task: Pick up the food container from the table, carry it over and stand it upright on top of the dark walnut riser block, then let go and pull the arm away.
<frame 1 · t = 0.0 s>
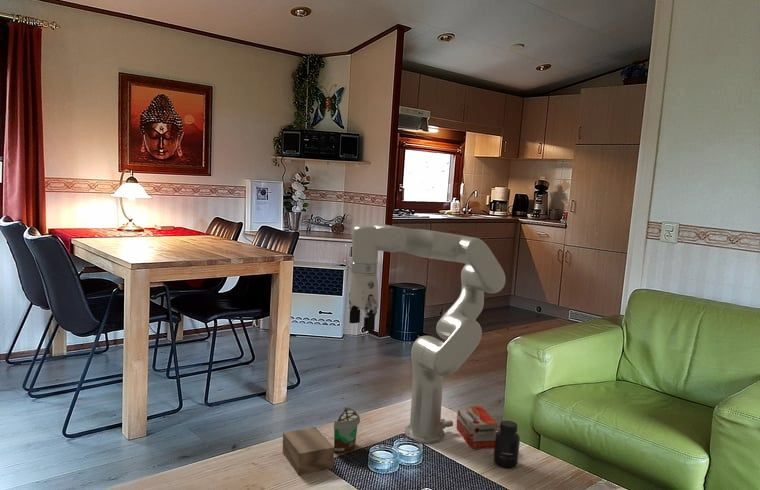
hand: (361, 326, 166), 37 cm above the table, tool pointing down, fingers open, 9 cm apart
medicine box: (475, 439, 180), on the table
walnut riser: (307, 460, 161), on the table
supplement bottle: (505, 464, 164), on the table
food container: (348, 448, 170), on the table
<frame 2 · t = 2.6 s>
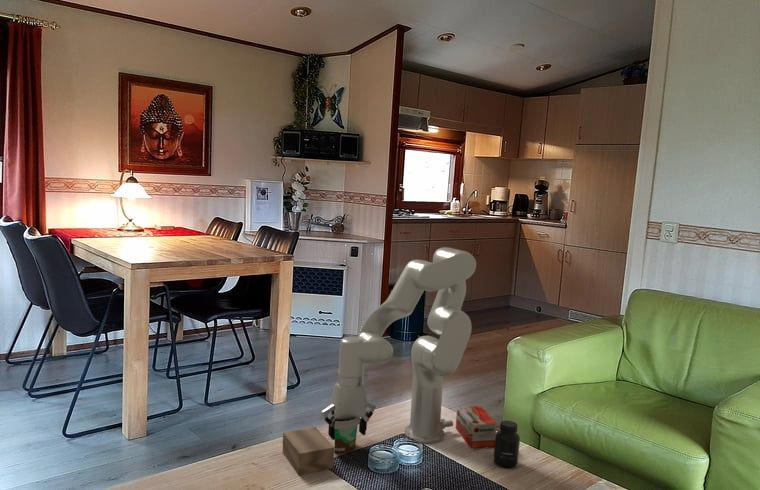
hand: (347, 435, 169), 4 cm above the table, tool pointing down, fingers open, 9 cm apart
food container: (348, 447, 170), on the table, touching gripper
everything else where it was.
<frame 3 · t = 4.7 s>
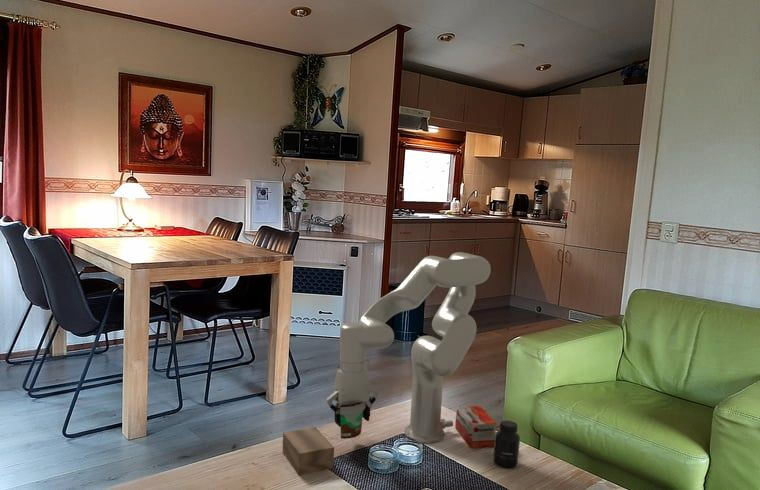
hand: (352, 421, 169), 8 cm above the table, tool pointing down, fingers closed on food container, 8 cm apart
food container: (354, 433, 170), point 4 cm above the table, touching gripper
everything else where it was.
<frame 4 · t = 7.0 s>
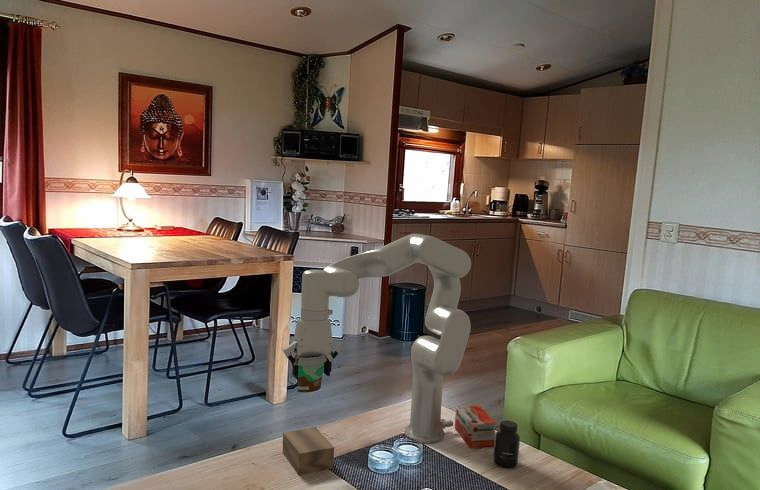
hand: (311, 376, 158), 24 cm above the table, tool pointing down, fingers closed on food container, 8 cm apart
food container: (313, 388, 159), point 21 cm above the table, touching gripper
everything else where it was.
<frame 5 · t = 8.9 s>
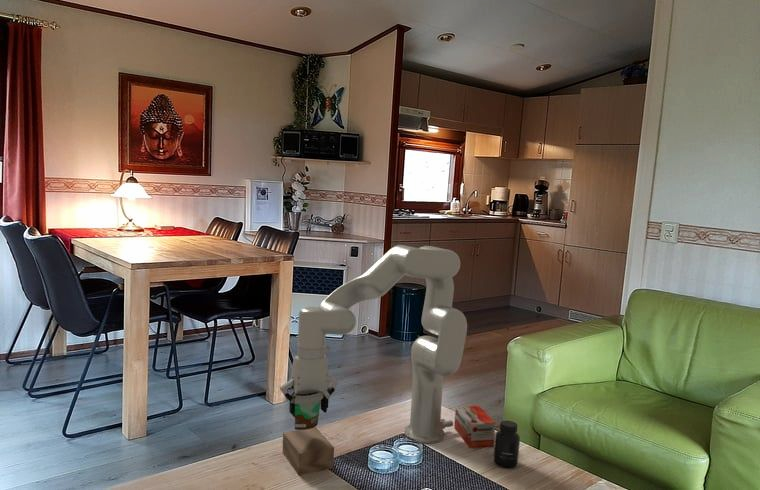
hand: (308, 412, 159), 14 cm above the table, tool pointing down, fingers closed on food container, 8 cm apart
food container: (310, 424, 160), point 10 cm above the table, touching gripper
everything else where it was.
when the fingers open (10 cm above the table, at t = 10.7 s): food container stays where it is, resting on walnut riser.
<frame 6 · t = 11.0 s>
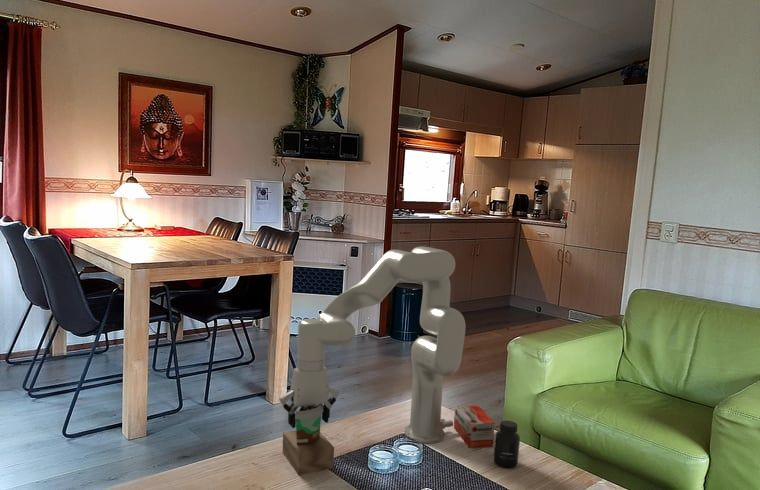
hand: (308, 423, 160), 11 cm above the table, tool pointing down, fingers open, 9 cm apart
food container: (312, 439, 161), point 6 cm above the table, touching gripper, walnut riser
everything else where it was.
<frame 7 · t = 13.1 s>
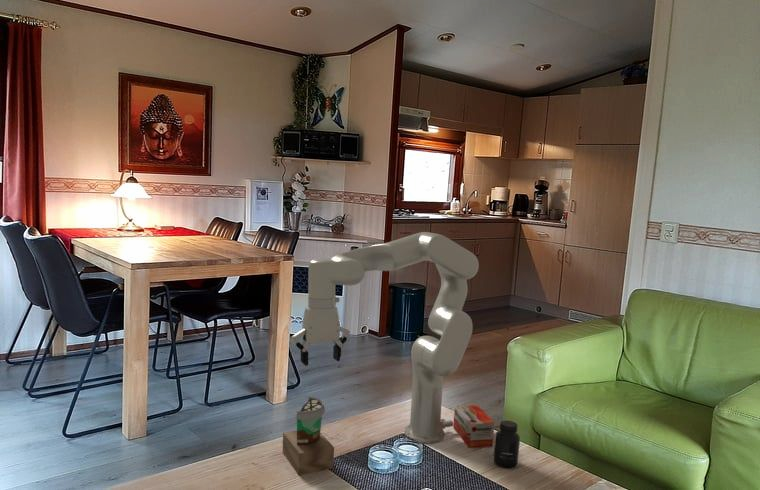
hand: (321, 362, 162), 27 cm above the table, tool pointing down, fingers open, 9 cm apart
food container: (312, 439, 161), point 6 cm above the table, touching walnut riser
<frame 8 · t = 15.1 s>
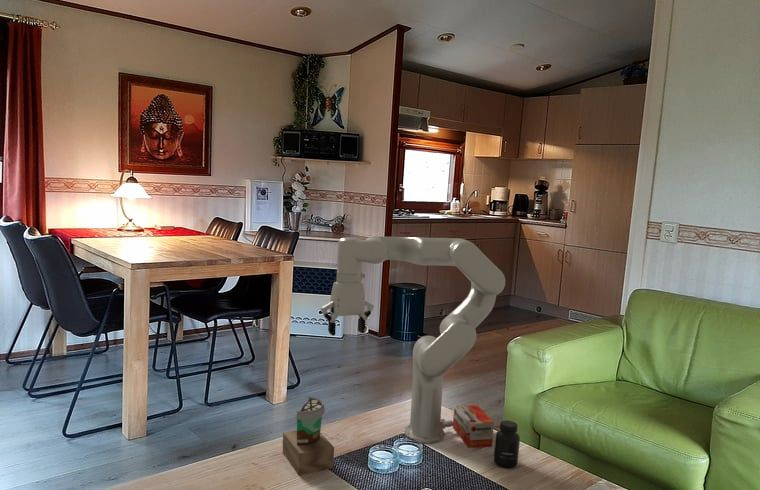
hand: (346, 333, 175), 32 cm above the table, tool pointing down, fingers open, 9 cm apart
at the end: food container 1.3 cm off-centre on the walnut riser, point 5.8 cm above the walnut riser's base; food container tilted 0°; food container touching walnut riser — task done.
